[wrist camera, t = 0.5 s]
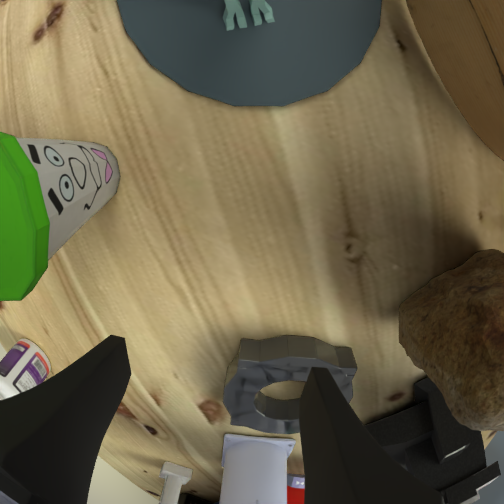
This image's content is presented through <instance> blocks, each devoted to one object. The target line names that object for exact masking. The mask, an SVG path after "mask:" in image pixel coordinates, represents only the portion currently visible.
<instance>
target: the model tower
mask: <svg viewBox="0 0 504 504" xmlns="http://www.w3.org/2000/svg"><path fill="white" fill-rule="evenodd" d="M192 472H193V469H189V468H186V467H183V466H180V465H176V464H173V463H170V462H167V461H165V463H164V464H163V466H162V468H161V470H160V474H159V477H160V478H163V479H165V482H164V486H163V490H162V494H161V498H160V502H159V504H177V503H178V499H179V494H180V489H181V485H182V484H183V485H185V484H186V483H187V482H188V481H189V480H190V479H191V476H192Z"/></svg>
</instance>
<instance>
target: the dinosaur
mask: <svg viewBox="0 0 504 504" xmlns="http://www.w3.org/2000/svg"><path fill="white" fill-rule="evenodd" d="M381 2H382V0H117V3H118V6H119V10H120V13H121V17H122V20H123V23H124V27H125V30H126V32H127V33H128V35H129V36H130V37H131V39H132V40H133V41H134V43H135V44H136V45H137V47H138V48H139V49H140V51H141V52H142V54H143V55H144V56H145V58H146V59H147V60H148V62H149V63H150V64H151V65H152V66H153V67H155V68H156V69H158V70H159V71H161V72H162V73H164V74H165V75H166V76H168V77H169V78H171V79H172V80H173V81H175V82H176V83H178V84H179V85H180V86H182V87H183V88H184V89H186V90H187V91H189V92H193V93H196V94H199V95H202V96H206V97H209V98H212V99H215V100H218V101H221V102H224V103H227V104H230V105H232V106H285V105H288V104H291V103H294V102H296V101H299V100H302V99H305V98H308V97H311V96H314V95H317V94H320V93H323V92H326V91H328V90H329V89H330V88H331V87H332V86H334V85H335V84H336V83H337V82H338V81H339V80H341V79H342V78H343V77H344V76H345V75H347V74H348V73H349V72H350V71H351V70H353V69H354V68H355V67H356V66H357V65H359V64H360V63H361V61H362V59H363V57H364V55H365V53H366V51H367V49H368V48H369V46H370V44H371V42H372V40H373V38H374V36H375V34H376V32H377V30H378V28H379V25H380V14H381Z"/></svg>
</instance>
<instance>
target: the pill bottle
mask: <svg viewBox="0 0 504 504" xmlns="http://www.w3.org/2000/svg"><path fill="white" fill-rule="evenodd" d="M50 370H51V365H50V362H49V360H48V358H47V356H46V355H45V353H44V352H43V351H42V350H41V349H40V348H39V347H38V346H37V345H36V344H35V343H33V342H32V341H30V340H28V339H20V340H19V341H18V342H17V343H16V344H15V345H14V346H13V347H12V348H11V350H10V351H9V352H8V353H7V354H6V356H5V357H4V358H3V359H2V360H1V362H0V400H3V399H6V398H9V397H12V396H14V395H17V394H19V393H22V392H24V391H26V390H29V389H31V388H33V387H35V386H37V385H39V384H41V383H43V381H44V380H45V378H46V377H47V375H48V374H49V372H50Z"/></svg>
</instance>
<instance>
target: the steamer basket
mask: <svg viewBox="0 0 504 504" xmlns="http://www.w3.org/2000/svg"><path fill="white" fill-rule="evenodd" d="M406 2H407V6H408V9H409V12H410V14H411V17H412V19H413V22H414V25H415V27H416V29H417V31H418V33H419V35H420V37H421V39H422V42H423V44H424V47H425V49H426V51H427V53H428V55H429V57H430V59H431V61H432V63H433V65H434V67H435V70H436V72H437V73H438V75H439V77H440V79H441V80H442V82H443V84H444V86H445V88H446V89H447V91H448V93H449V94H450V96H451V98H452V99H453V101H454V103H455V105H456V106H457V107H458V109H459V110H460V112H461V113H462V115H463V116H464V118H465V119H466V121H467V122H468V123H469V125H470V126H471V127H472V129H473V130H474V131H475V133H476V134H477V135H478V136H479V137H480V138H481V140H482V141H483V142H484V143H485V144H486V145H487V146H488V147H489V148H490V149H491V150H492V151H493V152H494V153H495V154H496V155H498V156H499V157H500V158H501V159H502V160H504V0H406Z"/></svg>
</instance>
